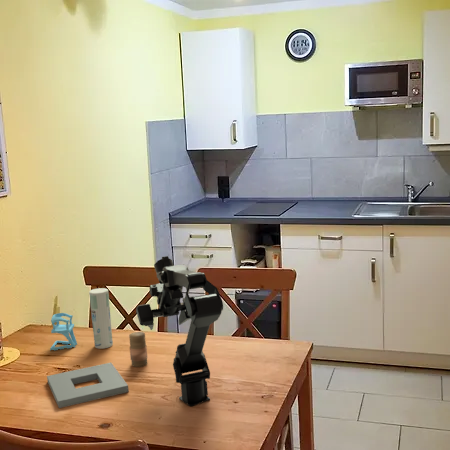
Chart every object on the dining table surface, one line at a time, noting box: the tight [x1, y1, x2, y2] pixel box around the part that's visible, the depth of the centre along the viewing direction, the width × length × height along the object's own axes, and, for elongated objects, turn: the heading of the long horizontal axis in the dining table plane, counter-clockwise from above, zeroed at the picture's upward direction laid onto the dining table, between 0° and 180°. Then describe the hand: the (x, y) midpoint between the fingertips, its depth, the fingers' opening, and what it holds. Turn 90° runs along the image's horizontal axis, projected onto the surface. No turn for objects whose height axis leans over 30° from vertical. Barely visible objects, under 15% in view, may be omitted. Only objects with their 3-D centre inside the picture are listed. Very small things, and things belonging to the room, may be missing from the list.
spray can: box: [88, 287, 114, 349], centre depth 220 cm, size 6×6×20 cm
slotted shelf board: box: [46, 362, 129, 409], centre depth 188 cm, size 20×20×2 cm
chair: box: [49, 312, 78, 351], centre depth 222 cm, size 8×8×12 cm
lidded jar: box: [128, 331, 148, 368], centre depth 203 cm, size 5×5×10 cm
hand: (165, 326), depth 197 cm, fingers open, 9 cm apart
